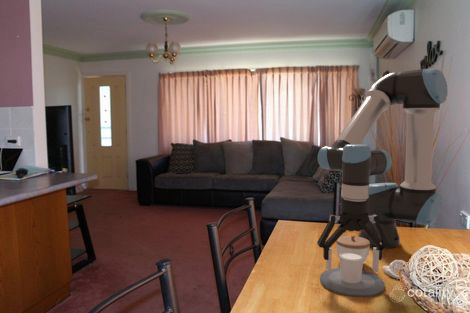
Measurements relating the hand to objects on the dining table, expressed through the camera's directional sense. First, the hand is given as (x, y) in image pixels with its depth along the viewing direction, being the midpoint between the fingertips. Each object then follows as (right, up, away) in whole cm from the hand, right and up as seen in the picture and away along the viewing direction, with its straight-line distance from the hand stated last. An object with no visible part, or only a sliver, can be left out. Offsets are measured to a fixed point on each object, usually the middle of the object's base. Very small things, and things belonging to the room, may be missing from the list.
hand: (351, 270), depth 115 cm
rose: (+17, -4, +7) cm, 19 cm away
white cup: (0, -3, 0) cm, 3 cm away
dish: (0, -4, 0) cm, 4 cm away
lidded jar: (+5, -2, +16) cm, 17 cm away
